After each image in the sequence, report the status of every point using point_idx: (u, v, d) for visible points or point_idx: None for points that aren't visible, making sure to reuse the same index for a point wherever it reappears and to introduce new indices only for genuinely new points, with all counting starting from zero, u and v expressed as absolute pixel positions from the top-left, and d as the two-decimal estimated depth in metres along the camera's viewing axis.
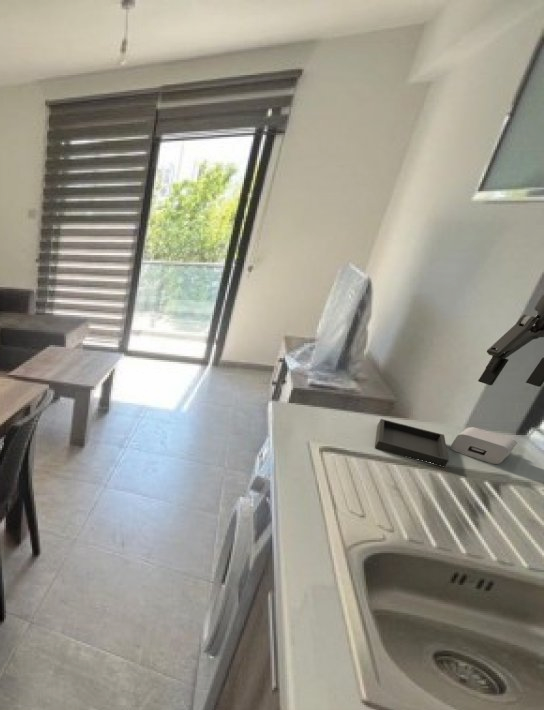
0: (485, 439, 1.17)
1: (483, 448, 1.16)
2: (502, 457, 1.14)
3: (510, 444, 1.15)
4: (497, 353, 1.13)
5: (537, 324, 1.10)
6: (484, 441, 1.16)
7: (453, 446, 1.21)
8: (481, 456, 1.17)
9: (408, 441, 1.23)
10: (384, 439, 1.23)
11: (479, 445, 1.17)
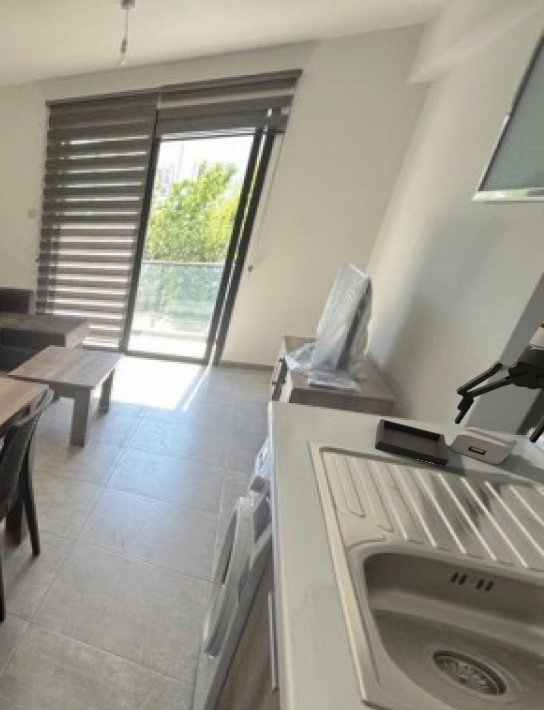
0: (485, 439, 1.17)
1: (483, 448, 1.16)
2: (502, 457, 1.14)
3: (510, 444, 1.15)
4: (457, 391, 1.21)
5: (508, 371, 1.14)
6: (484, 441, 1.16)
7: (453, 446, 1.21)
8: (481, 456, 1.17)
9: (408, 441, 1.23)
10: (384, 439, 1.23)
11: (479, 445, 1.17)
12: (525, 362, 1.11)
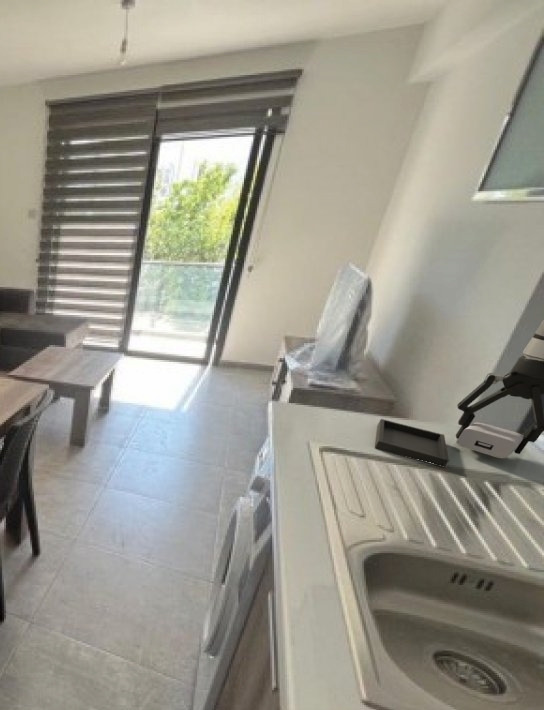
0: (492, 433, 1.15)
1: (490, 442, 1.15)
2: (509, 451, 1.13)
3: (517, 438, 1.14)
4: (458, 407, 1.21)
5: (503, 381, 1.15)
6: (491, 435, 1.15)
7: (459, 441, 1.19)
8: (488, 451, 1.16)
9: (408, 441, 1.23)
10: (384, 439, 1.23)
11: (486, 439, 1.16)
12: (519, 372, 1.12)
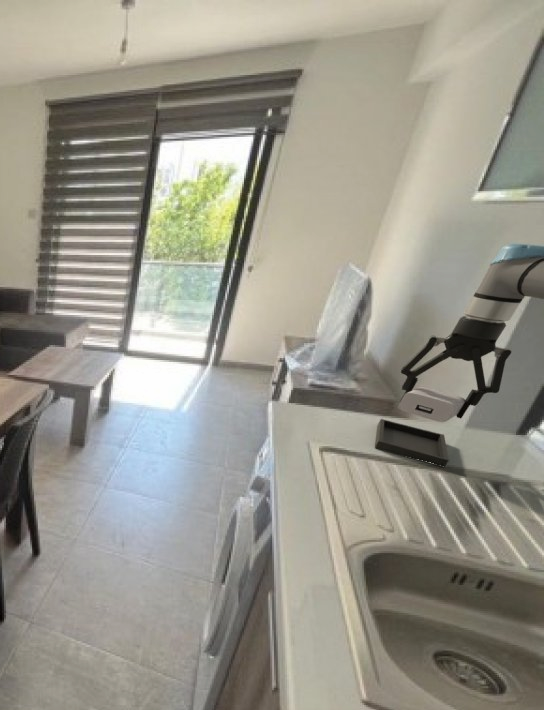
0: (432, 397, 1.12)
1: (430, 406, 1.12)
2: (449, 415, 1.10)
3: (457, 401, 1.11)
4: (401, 371, 1.18)
5: (444, 343, 1.12)
6: (431, 399, 1.12)
7: (401, 406, 1.16)
8: (428, 415, 1.13)
9: (408, 441, 1.23)
10: (384, 439, 1.23)
11: (426, 403, 1.13)
12: (459, 333, 1.09)
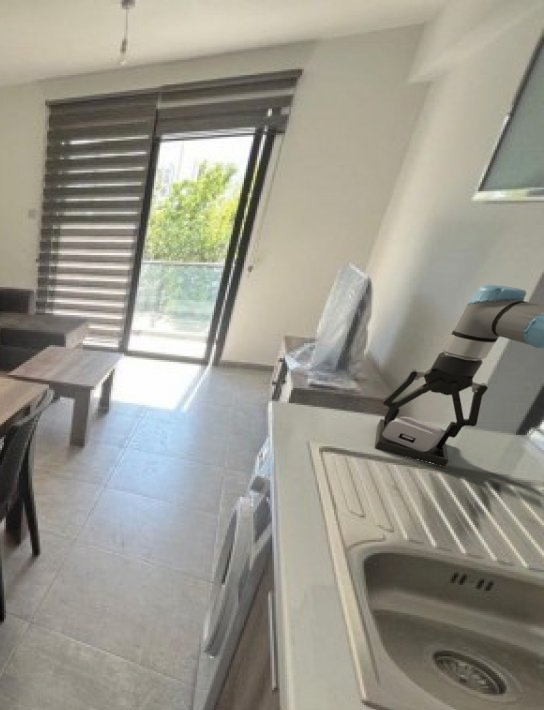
0: (415, 427, 1.16)
1: (413, 435, 1.16)
2: (430, 445, 1.14)
3: (438, 433, 1.15)
4: (383, 402, 1.22)
5: (424, 377, 1.16)
6: (414, 428, 1.16)
7: (385, 433, 1.20)
8: (410, 443, 1.17)
9: None
10: (384, 439, 1.23)
11: (409, 432, 1.16)
12: (438, 368, 1.13)
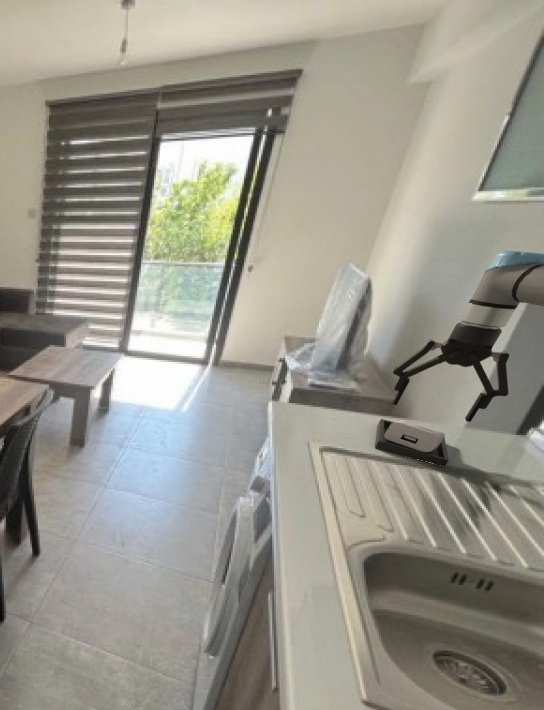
0: (417, 427, 1.16)
1: (415, 436, 1.15)
2: (433, 445, 1.13)
3: (440, 434, 1.15)
4: (393, 371, 1.19)
5: (441, 349, 1.12)
6: (416, 429, 1.15)
7: (387, 435, 1.19)
8: (413, 444, 1.16)
9: None
10: (384, 439, 1.23)
11: (412, 433, 1.16)
12: (455, 339, 1.09)
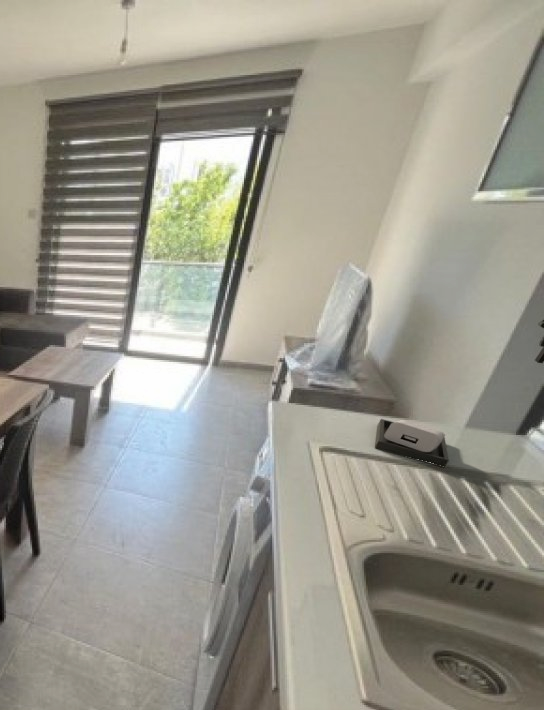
0: (417, 427, 1.16)
1: (415, 436, 1.15)
2: (433, 445, 1.13)
3: (440, 434, 1.15)
4: (541, 324, 1.05)
5: None
6: (416, 429, 1.15)
7: (387, 435, 1.19)
8: (413, 444, 1.16)
9: None
10: (384, 439, 1.23)
11: (412, 433, 1.16)
12: None
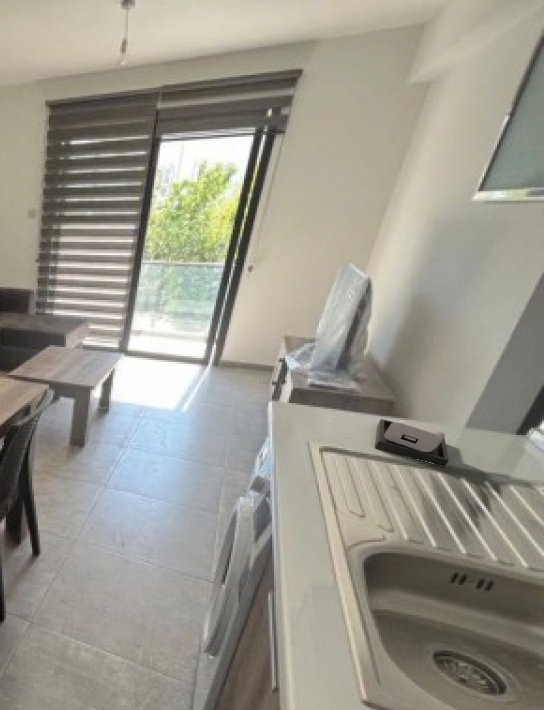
0: (417, 427, 1.16)
1: (415, 436, 1.15)
2: (433, 445, 1.13)
3: (440, 434, 1.15)
4: None
5: None
6: (416, 429, 1.15)
7: (387, 435, 1.19)
8: (413, 444, 1.16)
9: None
10: (384, 439, 1.23)
11: (412, 433, 1.16)
12: None
